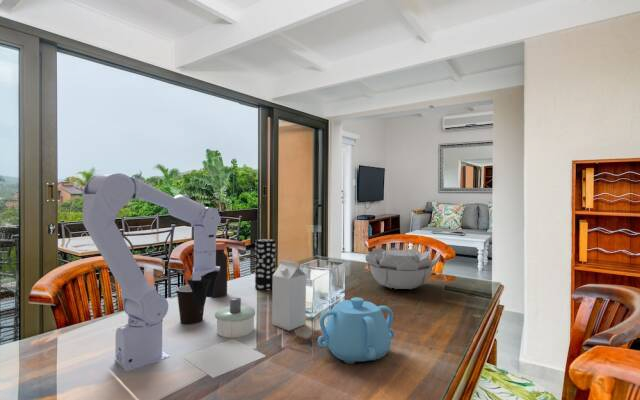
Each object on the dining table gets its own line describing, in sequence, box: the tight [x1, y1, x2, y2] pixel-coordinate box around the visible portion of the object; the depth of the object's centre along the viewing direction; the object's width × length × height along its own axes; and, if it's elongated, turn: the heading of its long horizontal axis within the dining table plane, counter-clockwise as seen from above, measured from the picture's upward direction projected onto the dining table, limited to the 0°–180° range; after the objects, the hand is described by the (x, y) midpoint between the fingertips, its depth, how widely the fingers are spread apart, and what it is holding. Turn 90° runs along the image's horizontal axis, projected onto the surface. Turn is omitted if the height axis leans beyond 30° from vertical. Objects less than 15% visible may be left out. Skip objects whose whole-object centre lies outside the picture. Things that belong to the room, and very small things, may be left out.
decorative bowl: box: [365, 247, 441, 290], centre depth 149 cm, size 30×30×15 cm
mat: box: [182, 338, 267, 379], centre depth 83 cm, size 14×14×1 cm
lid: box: [214, 297, 256, 322], centre depth 100 cm, size 11×11×4 cm
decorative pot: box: [317, 297, 395, 364], centre depth 86 cm, size 16×16×14 cm
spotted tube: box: [254, 238, 277, 292], centre depth 146 cm, size 8×8×20 cm
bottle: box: [211, 242, 228, 298], centre depth 136 cm, size 7×7×20 cm
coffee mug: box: [176, 284, 205, 325], centre depth 110 cm, size 12×9×10 cm
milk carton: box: [271, 259, 307, 332], centre depth 105 cm, size 7×7×19 cm
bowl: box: [216, 315, 255, 338], centre depth 100 cm, size 10×10×5 cm
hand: (204, 300), depth 96 cm, fingers open, 7 cm apart
